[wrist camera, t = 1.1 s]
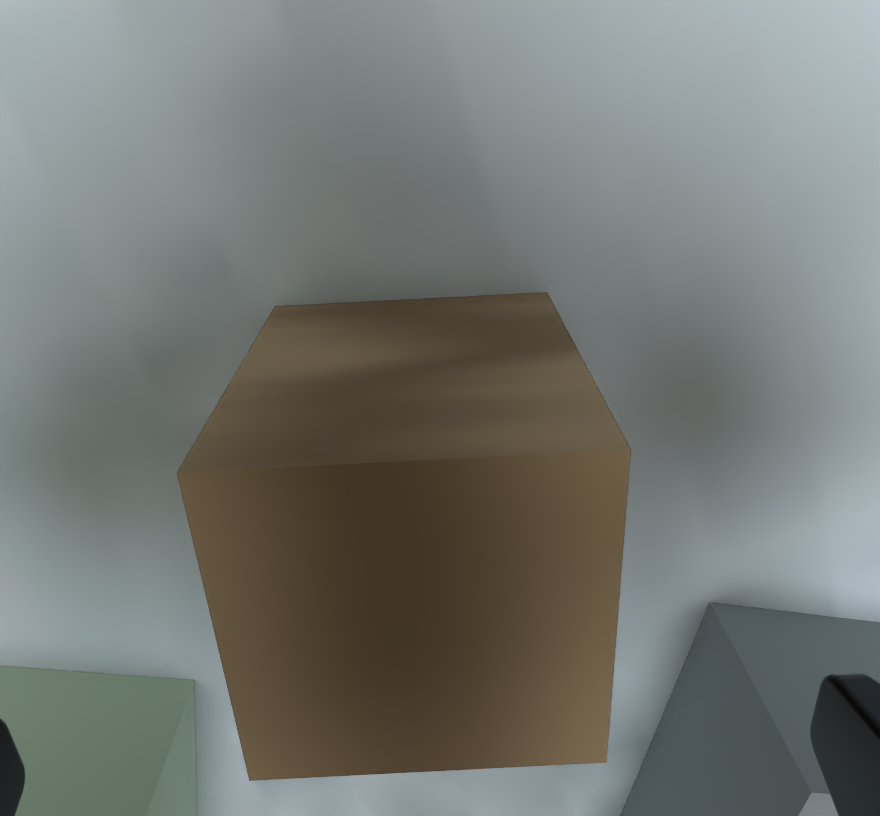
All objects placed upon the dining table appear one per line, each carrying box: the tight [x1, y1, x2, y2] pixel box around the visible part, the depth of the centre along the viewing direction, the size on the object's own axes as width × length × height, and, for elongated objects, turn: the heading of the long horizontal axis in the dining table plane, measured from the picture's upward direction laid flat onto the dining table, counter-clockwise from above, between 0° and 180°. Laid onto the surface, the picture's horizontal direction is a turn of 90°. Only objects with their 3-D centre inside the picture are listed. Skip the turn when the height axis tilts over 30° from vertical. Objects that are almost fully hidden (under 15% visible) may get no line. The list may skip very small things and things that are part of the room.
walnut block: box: [177, 292, 631, 781], centre depth 12 cm, size 5×5×6 cm
